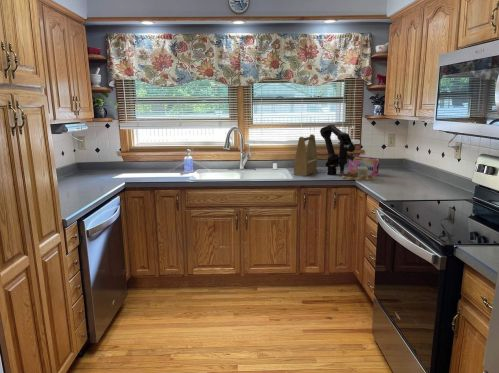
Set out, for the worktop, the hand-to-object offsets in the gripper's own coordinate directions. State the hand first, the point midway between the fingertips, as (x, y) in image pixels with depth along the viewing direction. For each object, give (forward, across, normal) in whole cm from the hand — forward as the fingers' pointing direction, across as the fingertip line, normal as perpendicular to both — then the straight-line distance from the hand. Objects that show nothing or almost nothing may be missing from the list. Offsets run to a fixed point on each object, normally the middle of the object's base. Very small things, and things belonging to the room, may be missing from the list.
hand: (341, 171), depth 284 cm
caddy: (+5, +13, +28) cm, 31 cm away
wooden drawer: (+3, 0, -5) cm, 6 cm away
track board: (+5, 0, -11) cm, 12 cm away
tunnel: (+3, 0, -15) cm, 15 cm away
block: (+2, 0, -8) cm, 8 cm away
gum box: (+5, +20, -17) cm, 27 cm away
